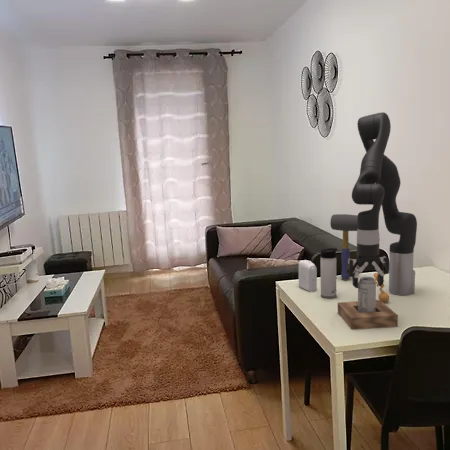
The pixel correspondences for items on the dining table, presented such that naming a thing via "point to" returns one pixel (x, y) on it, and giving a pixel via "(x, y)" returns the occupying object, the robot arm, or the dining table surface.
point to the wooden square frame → (367, 316)
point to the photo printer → (307, 275)
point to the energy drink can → (366, 295)
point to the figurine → (383, 295)
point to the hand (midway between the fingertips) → (367, 286)
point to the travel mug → (328, 273)
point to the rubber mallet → (344, 236)
